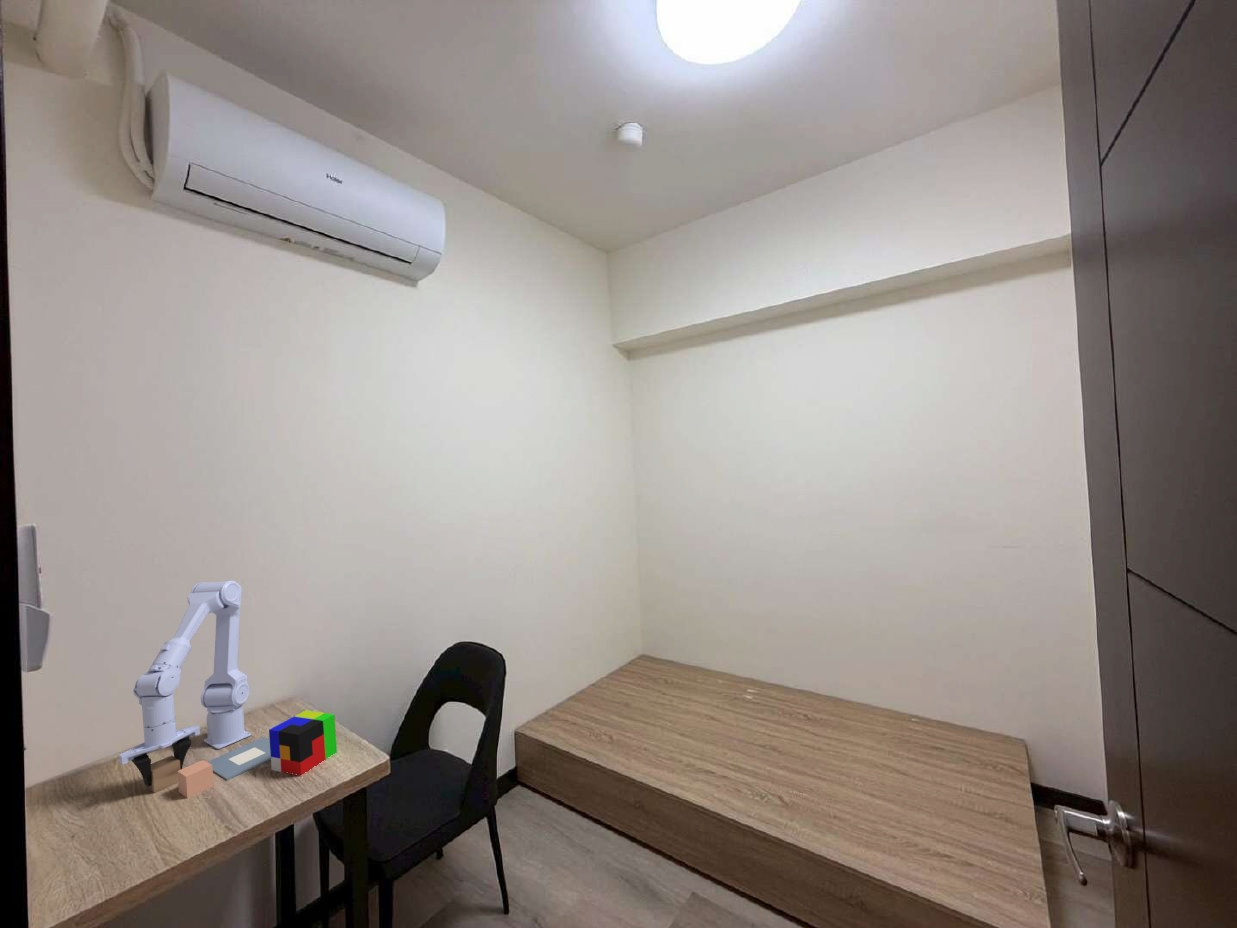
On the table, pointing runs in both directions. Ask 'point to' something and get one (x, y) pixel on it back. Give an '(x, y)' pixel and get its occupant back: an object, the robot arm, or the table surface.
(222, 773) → the plate
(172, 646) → the robot arm
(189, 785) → the terracotta block
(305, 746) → the puzzle toy
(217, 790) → the table surface
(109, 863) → the table surface
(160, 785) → the walnut block
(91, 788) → the table surface
